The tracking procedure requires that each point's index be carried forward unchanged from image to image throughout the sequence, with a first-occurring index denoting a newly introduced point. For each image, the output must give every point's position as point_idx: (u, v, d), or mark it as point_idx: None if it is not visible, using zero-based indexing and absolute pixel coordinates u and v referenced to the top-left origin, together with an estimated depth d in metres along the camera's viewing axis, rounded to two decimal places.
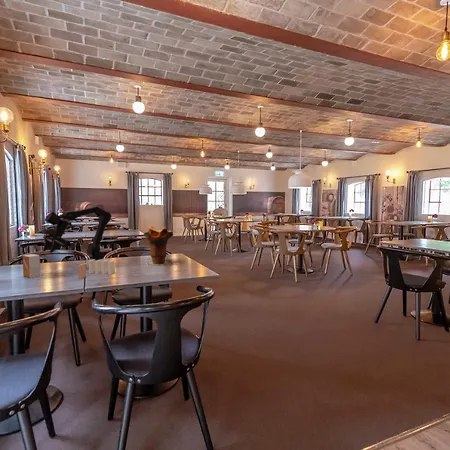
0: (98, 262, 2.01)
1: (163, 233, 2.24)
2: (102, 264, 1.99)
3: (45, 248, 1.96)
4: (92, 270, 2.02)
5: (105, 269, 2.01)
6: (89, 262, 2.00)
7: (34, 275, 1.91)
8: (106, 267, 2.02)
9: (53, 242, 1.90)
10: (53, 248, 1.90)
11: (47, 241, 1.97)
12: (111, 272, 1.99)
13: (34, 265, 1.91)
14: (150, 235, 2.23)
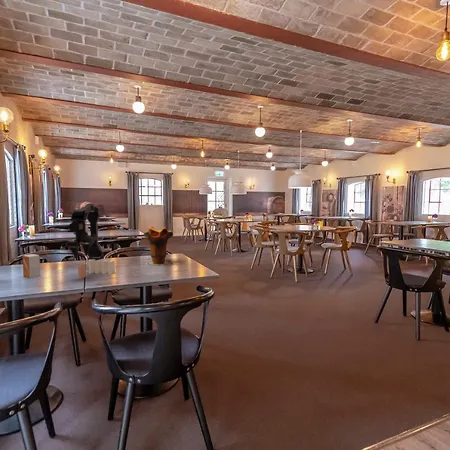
0: (98, 262, 2.01)
1: (163, 233, 2.24)
2: (102, 264, 1.99)
3: None
4: (92, 270, 2.02)
5: (105, 269, 2.01)
6: (89, 262, 2.00)
7: (34, 275, 1.91)
8: (106, 267, 2.02)
9: (90, 245, 1.94)
10: None
11: None
12: (111, 272, 1.99)
13: (34, 265, 1.91)
14: (150, 235, 2.23)
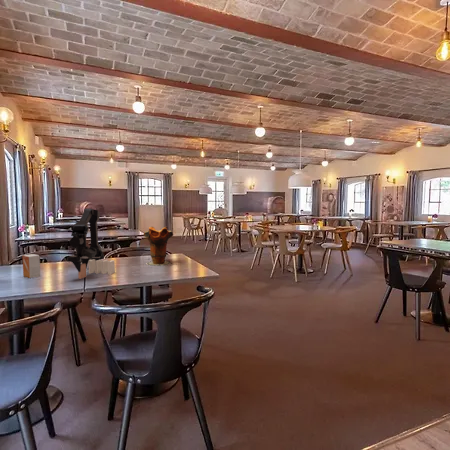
0: (98, 262, 2.01)
1: (163, 233, 2.24)
2: (102, 264, 1.99)
3: None
4: (92, 270, 2.02)
5: (105, 269, 2.01)
6: (89, 262, 2.00)
7: (34, 275, 1.91)
8: (106, 267, 2.02)
9: None
10: None
11: None
12: (111, 272, 1.99)
13: (34, 265, 1.91)
14: (150, 235, 2.23)
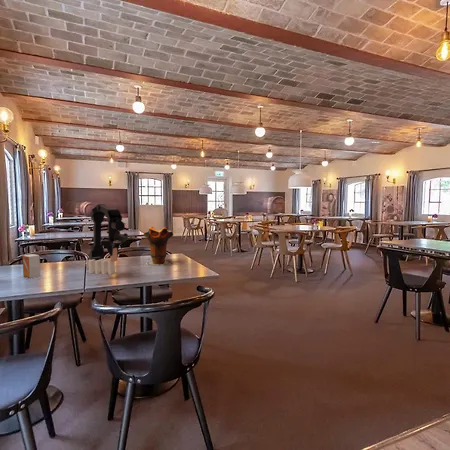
0: (98, 262, 2.01)
1: (163, 233, 2.24)
2: (102, 264, 1.99)
3: None
4: (92, 270, 2.02)
5: (105, 269, 2.01)
6: (89, 262, 2.00)
7: (34, 275, 1.91)
8: (106, 267, 2.02)
9: (120, 244, 1.98)
10: None
11: None
12: (111, 272, 1.99)
13: (34, 265, 1.91)
14: (150, 235, 2.23)
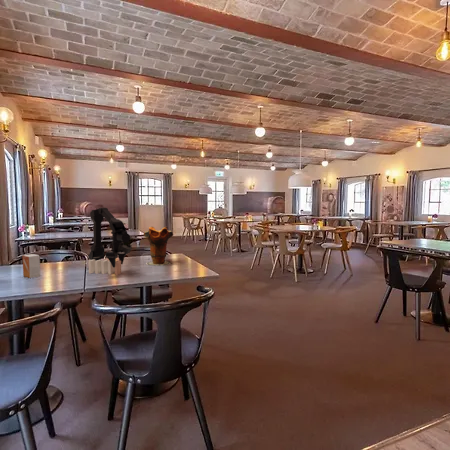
0: (98, 262, 2.01)
1: (163, 233, 2.24)
2: (102, 264, 1.99)
3: None
4: (92, 270, 2.02)
5: (105, 269, 2.01)
6: (89, 262, 2.00)
7: (34, 275, 1.91)
8: (106, 267, 2.02)
9: None
10: None
11: None
12: (111, 272, 1.99)
13: (34, 265, 1.91)
14: (150, 235, 2.23)
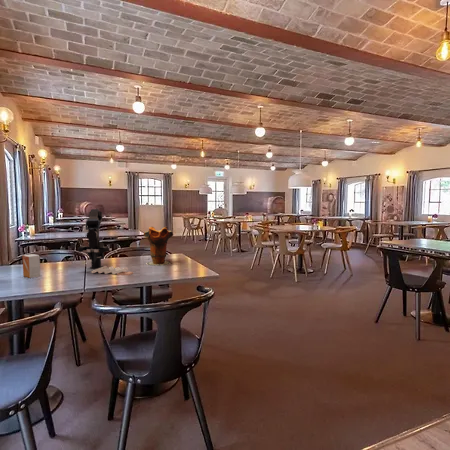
0: (109, 269, 2.00)
1: (163, 233, 2.24)
2: (112, 270, 1.98)
3: None
4: None
5: None
6: (101, 268, 1.99)
7: (34, 275, 1.91)
8: None
9: None
10: None
11: None
12: (115, 273, 1.99)
13: (34, 265, 1.91)
14: (150, 235, 2.23)
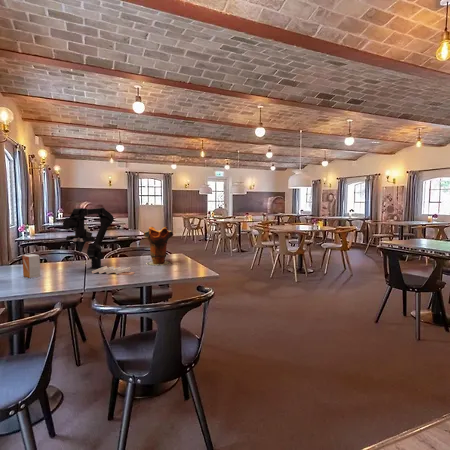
0: None
1: (163, 233, 2.24)
2: (115, 270, 1.98)
3: None
4: None
5: None
6: (101, 269, 1.99)
7: (34, 275, 1.91)
8: None
9: None
10: None
11: None
12: None
13: (34, 265, 1.91)
14: (150, 235, 2.23)
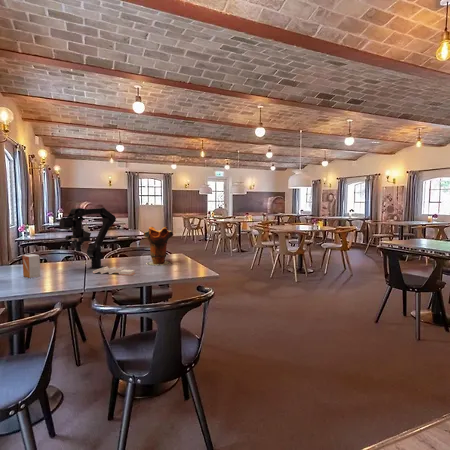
0: (111, 270, 1.99)
1: (163, 233, 2.24)
2: (116, 270, 1.97)
3: None
4: (96, 272, 2.01)
5: None
6: (102, 269, 1.99)
7: (34, 275, 1.91)
8: None
9: None
10: None
11: None
12: None
13: (34, 265, 1.91)
14: (150, 235, 2.23)
